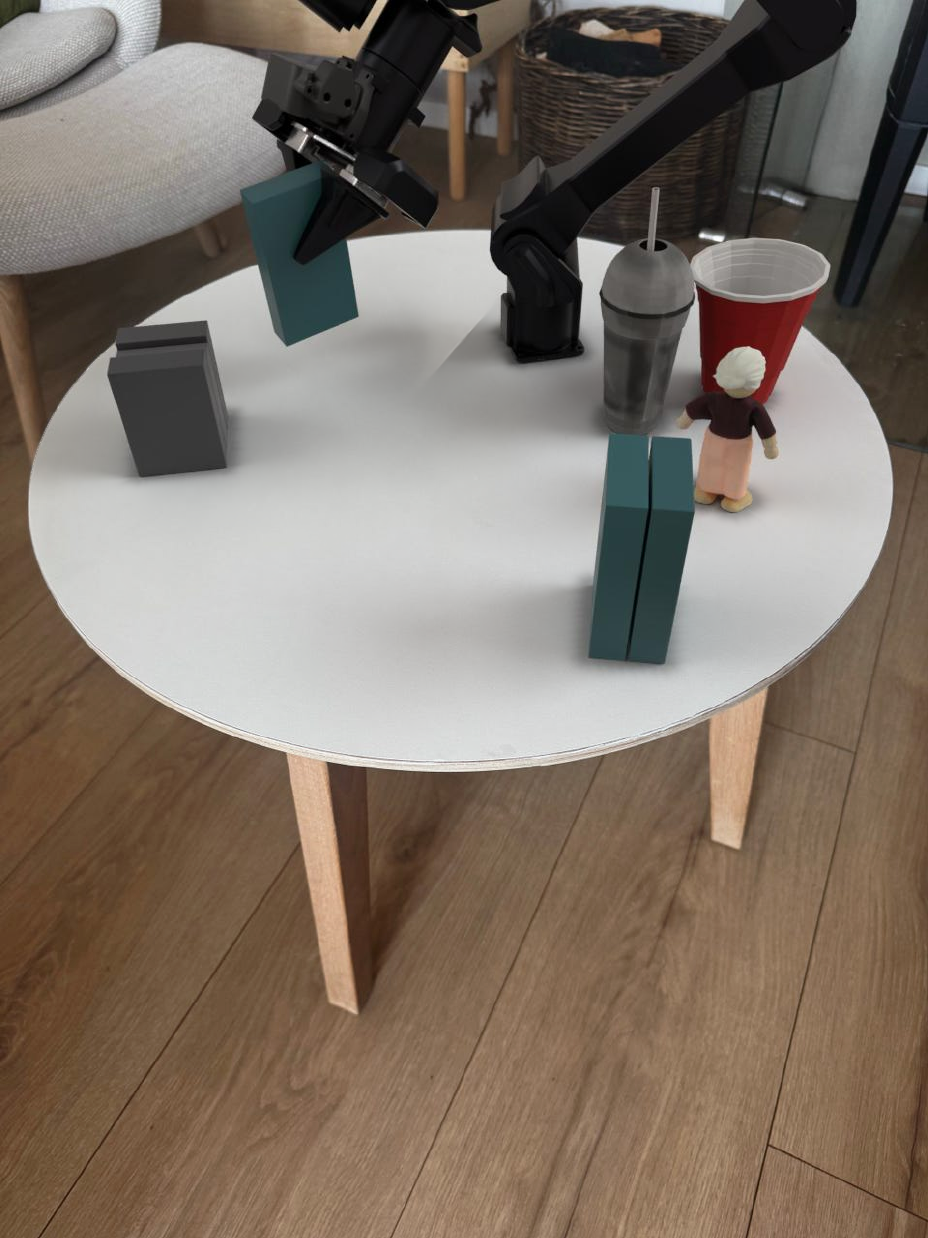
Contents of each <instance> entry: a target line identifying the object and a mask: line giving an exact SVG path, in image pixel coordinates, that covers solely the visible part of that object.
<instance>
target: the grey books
mask: <svg viewBox="0 0 928 1238" xmlns="http://www.w3.org/2000/svg"><path fill="white" fill-rule="evenodd" d="M114 342H115V343H114V345H115V348H116V353H115V356H111V357H110V358H109V362H108V367H107V373H106V376H107V379H108V382H109V385H110V390H111V391H112V395H113V398H114V401H115V405H116V407H117V411H118V414H119V417H120V420H121V423H122V427H123V429H124V433H125V437H126V439H127V442H128V445H129V449H130V451H131V455H132V458H133V461H134V464H135V467H136V471H137V474H138V476H139V477H140V478H141V477H150V476H159V475H170V474H180V473H188V472H196V471H197V472H198V471H207V470H217V469H226V468H227V467H228V440H229V439H228V436H229V435H228V434H229V431H228V429H229V428H228V427H229V413H228V409H227V403H226V400H225V394H224V391H223V386H222V382H221V377H220V373H219V367H218V363H217V359H216V355H215V350H214V346H213V341H212V337H211V332H210V327H209V323H208V320H207V319H204V320H194V321H193V320H192V321H185V322H172V323H161V324H151V325H140V326H139V325H138V326H129V327H128V326H127V327H118V328H117V330H116V336H115V341H114Z"/></svg>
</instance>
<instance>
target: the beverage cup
mask: <svg viewBox="0 0 928 1238" xmlns="http://www.w3.org/2000/svg"><path fill="white" fill-rule="evenodd" d="M659 199H660V187H653V188H652V189H651V200H650V212H649V213H650V214H649V221H648V232H647V233H648V235H647V237H646V238H640V239H638V240H635V241H632V242H631V243H628V244H627V245H625V246H624V247H623V248H622V249H620V250H619V251H618V253H616V254H615V255H614V257H612V259H611V260H610V262H609V264H608V266H607V268H606V271H605V274H604V277H603V279H602V285H601V286H600V290H599V292H598V293H599V298H600V308H601V317H602V321H603V407H604V408H603V409H604V424H605V425H606V427H607V428H608V430H611V431H612V432H614V433H615V434H630V435H646V436H647V435H649V434H650V433H652V432H654V431H655V430H656V429H657V428H658V424H659V420H660V416H661V413H662V411H663V407H664V404H665V399H666V396H667V393H668V392H667V391H668V387H669V383H670V380H671V375H672V372H673V368H674V364H675V361H676V360H675V359H676V356H677V351H678V349H679V343H680V340H681V336H682V332H683V329H684V328H685V326H686V323H687V321H688V319H689V316H690V312H691V309H692V307H693V306H694V304H695V300H696V293H695V282H694V276H693V272H692V269H691V267H690V264H691V263H690V262H689V260H688V258H687V256H686V255H685V253H684V252H682V250H681V249H680V248H678V246H676V245H675V244H673V243H671V242H670V241H668V240H665V239H662V238H656V231H657V221H658V211H659V210H658V209H659Z"/></svg>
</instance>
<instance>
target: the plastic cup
mask: <svg viewBox="0 0 928 1238" xmlns="http://www.w3.org/2000/svg"><path fill="white" fill-rule="evenodd" d="M689 264H690V267H691V269H692V272H693V276H694V286H695V290H696V297H697V303H698V322H699V324H698V325H699V329H698V330H699V356H700V363H701V364H700V367H701V368H700V371H701V372H700V384H701V387H702V394H705V393H708V392H713V391H721V392H725V390H724V388H723V387H721V386H719V385H718V383H717V380H716V378H714V377H713V375H716V373H717V367H718V365H719V363H720V361H721V360H722V359H723V358H725V356H726V355H727V354H728V353H729V352H731V351H732V350H734V349H735V348H740V347H748V346H749V347H751V348H753V349H756V350H759V351H760V352H761V354H762V356H763V357H765V361H766V363H765V369H766V370H765V372H764V375H763V376H764V378H763V379H762V380H761V382H760V386H759V388H757V389H756V390H755V392H754V393H753V394H751V395H750V397H752V398H753V399H755V400H757V401H758V402H760V403H761V404H762V405H763V406H764V404H766V403H767V402H768V400H769V398H770V397H771V396H772V393H773V391H774V389H775V387H776V384H777V382H778V380H779V377H780V375H781V372H783V370H784V369H785V367H786V364H787V362H788V360H789V357H790V355H791V353H792V351H793V348H794V345H795V342H797V341H796V340H797V339H798V336H799V333H800V331H801V329H802V326H803V324H804V322H805V320H806V317H807V315H808V314H809V313H810V310H811V307H812V305H813V302H815V300H816V297H817V294H818V292H820V289H821V288H822V286H823V285H825V284H826V283H827V281H828V279H829V275H830V270H831V263H830V262H829V261H828V260H827V259H826V257H825V256H824V254H823V253H822V252H819V251H817V250H815V249H813V248H811V247H809V246H807V245H805V244H802V243H797V242H793V241H790V240H785V239H781V238H764V237H749V238H740V239H729V240H726V241H721V242H720V243H717V244H716V243H715V244H713V245H710V246H707V247H705V248H704V249H702V250H700V252H698V253H697V254H695V255H694V256H693V257H692V259H691V262H690V263H689Z"/></svg>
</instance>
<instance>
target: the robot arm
mask: <svg viewBox="0 0 928 1238" xmlns="http://www.w3.org/2000/svg"><path fill="white" fill-rule="evenodd" d="M297 1H298V2H299V3H300V4H301V5H303V6H304V7H306V8H307V9H308V10H310V11H311V13H313V14H315V15H316V17H319V19H321V20H322V21H323V22H325V24H327V25H329V26H330V27H331V28H332V29H334V30H335V31H336V32H338V33H339V34H340V33H341V32H342V30H343V29H345V30H346V31H347V32H351V30H352V28H353V27H355V28H356V29H357V30H359V31H360V30H361V29H362V27H363V26H364V24H365V23H366V20H367V19H368V17H369V15H370V14H371V13H372V11H373V9H374V7H375V5H376V3H377V2H378V0H297ZM500 1H501V0H386V2H385V3H384V6H383V7H382V9H381V11H380V12H379V15H378V16H377V18H376V20H375V21H374V23H373V25H372V27H371V29H370V31H368V34H367V36H366V38H365V39H364V41H363V43H362V45H361V46H360V49H359V50H358V52H357V53H356V55H355V57H354V59H353V58H350V57H348V56H346V55H342V56H341V57H338V58H337V59H336V60H335V62H332V61H330V60H328V59H322V60H321V62H320V63H319V64H318V66H316V65H313V64H310V63H307V62H304V61H301V60H298V59H294V58H292V57H289V56H285V55H283V54H278V53H276V52H269V54H268V55H269V56H268V59H267V66H266V71H265V76H264V80H263V85H262V90H261V95H260V102H259V104H258V105H257V107H256V109H255V111H254V113H253V114H252V117H251V119H252V121H254V122H255V123H257V124H258V125H259V126H260V127H262V128H263V129H265V131H267V132H268V133H270V134H271V135H272V136H274V137H275V138H276V143H275V144H276V148H277V149H279V150H280V152H281V155H282V160H283V163H284V167H285V171H286V173H288V172H290V171H293V170H296V169H299V168H301V167H304V166H307V165H310V164H312V163H315V162H318V161H321V160H322V161H323V162H324V163H325V164H326V165H328V166H329V167H330V168H331V169H332V170H333V171H332V170H330V169H328V168H327V167H325V166H323V165H322V164H321V165H320V173H321V186H322V193H321V196H320V198H319V200H318V202H317V205H316V207H315V209H314V211H313V213H312V215H311V217H310V219H309V221H308V223H307V225H306V228H305V230H304V232H303V234H302V236H301V238H300V240H299V243H298V245H297V248H296V250H295V253H294V256H293V258H294V260H295V261H297V262H298V263H300V264H301V265H306V264H307V263H309V262H310V261H312V260H313V259H315V258H316V257H318V256H319V255H321V254H322V253H324V252H325V251H327V250H328V249H330V248H331V247H333V246H334V245H336V244H337V243H339V242H340V241H341V240H343V239H345V238H346V239H347V238H348V237H349V236H352V235H353V234H355V233H357V232H358V231H360V230H362V229H363V228H365V227H367V226H369V225H371V224H373V223H374V222H376V221H378V220H380V219H384V220H388V219H389V217H390V216H391V214H390V212H388V211H387V210H386V207H387V205H388V204H389V202H390V203H392V205H394V206H395V207H396V208H398V209H399V211H401V215H402V216H403V217H404V218H405V219H407V220H409V221H411V222H412V223H414V224H416V225H417V226H419V227H420V228H422V229H424V230H427V229H428V226H429V225H430V224H431V222H432V220H433V218H434V217H435V216H436V214H437V212H438V210H439V209H440V204H439V190H438V189H437V188H436V187H435V186H434V185H433V184H431V183H430V182H429V181H428V180H426V179H425V178H424V177H423V176H422V175H420V173H418V172H417V171H416V170H415V169H413V168H412V166H410V165H409V164H408V163H407V162H406V161H404V160H403V159H402V158H400V157H399V156H397V155H395V154H394V153H392V152H393V150H394V149H395V147H396V145H397V143H398V141H400V138H401V136H402V134H403V133H404V131H405V130H406V128H407V126H408V124H410V125H412V126H414V127H416V128H418V129H420V127H421V126H422V124H423V122H424V120H425V119H426V115H425V114H424V112H422V111H421V110H420V108H418V107H419V106H420V104H421V102H422V100H423V98H424V97H425V95H426V93H427V91H428V90H429V88H430V87H431V84H432V83H433V81H434V80H435V78H436V76H437V75H438V73H439V71H440V69H441V67H442V65H443V64H444V62H445V60H446V59H447V57H448V55H449V53H450V51H451V50H452V48H453V49H455V50H456V51H457V52H458V53H460V54H461V55H462V56H463V57H464V58H466V59H469V58H472V57H474V56H476V55H478V54H480V53H481V52H482V51H483V43H482V41H481V36H480V33H479V28H478V21H479V15H478V14H477V13H476V12H473V13H470V14H466V15H460V14H459V13H457V12H456V11H472V10H475V9H479V8H481V7H485V6H487V5H490V4H494V3H497V2H500ZM857 7H858V2H857V0H743V1H742V2H741V4H740V5H739V7H738V8H737V10H736V11H735V13H734V15H733V16H732V17H731V19H730V21H729V22H728V23H727V25H726V26H725V28H724V29H723V31H722V32H721V33H720V35H719V36H718V37H717V38H716V40H715V41H713V43H712V44H710V45H709V46H708V47H707V48H706V49H705V50H703V51H702V52H701V53H700V54H698V55H697V56H696V57H694V58H693V59H692V60H691V61H689V62H688V63H687V64H686V65H685V66H684V67H682V68H681V69H680V70H679V71H678V72H676V73H675V74H674V75H672V76H671V77H670V78H669V79H668V80H666V81H665V82H664V83H663V84H662V85H661V86H659V87H658V88H657V89H655V90H654V91H653V92H652V93H650V94H649V95H648V96H647V97H646V98H644V99H643V100H642V101H641V102H640V103H638V104H637V105H636V106H635V107H633V108H632V109H631V110H629V112H627V113H626V114H625V115H624V116H622V117H621V118H620V119H619V120H618V121H617V122H615V123H613V124H612V126H610V127H609V128H608V129H607V130H605V131H603V133H602V134H600V135H599V136H598V137H597V138H595V139H594V140H593V141H592V142H591V143H589V144H588V145H587V146H585V147H584V148H583V149H582V150H581V151H579V152H578V153H577V154H576V155H575V156H573V157H572V158H571V159H569V160H567V161H565V162H563V163H560V164H557V165H554V166H550V167H547V168H546V166H545V164H544V161H543V160H542V158H541V157H540V155H535V157H533V158H532V159H531V160H530V161H529V162H528V163H527V165H526V166H525V167H524V168H523V169H522V170H521V171H520V172H519V173H518V174H517V175H516V176H514V177H512V178H510V179H507V180H504V181H502V182H501V185H500V186H501V187H500V194H499V196H498V197H497V198H495V201H494V203H493V205H492V206H493V208H492V212H491V222H490V223H491V224H490V238H489V239H490V240H489V254H490V258H491V261H492V263H493V265H494V267H496V269H497V270H498V271H499V272H501V273H502V274H503V275H504V276H506V292H503V293H502V294H501V295H500V320H499V321H500V325H499V328H500V329H499V333H500V336H501V337H502V340H503V342H504V344H505V346H506V347H507V348H508V349H509V350H510V352H511V353H512V355H513V358H514V360H515V361H516V362H517V363H528V362H529V363H530V362H535V361H542V360H543V361H544V360H550V359H558V358H566V357H573V356H581V355H583V354H584V353H585V347H584V345H583V342H582V341H581V339H580V328H581V317H582V315H581V314H582V300H583V289H584V282H583V281H582V279H581V275H580V262H579V261H580V260H579V245H578V237H579V236H580V235H581V233H582V231H583V230H584V228H585V227H586V225H587V224H588V223H589V221H590V220H591V219H592V217H593V216H594V215H595V213H596V212H597V211H598V210H599V209H600V208H602V207H603V206H604V205H605V204H607V203H608V202H610V201H611V200H612V199H613V198H614V197H616V196H617V195H618V194H620V193H621V192H623V190H625V189H626V188H628V187H629V186H630V185H632V183H634V182H635V181H636V180H638V179H640V177H641V176H643V175H645V174H646V173H647V172H648V171H650V170H651V169H652V168H653V167H655V165H657V164H659V163H660V162H661V161H662V160H663V159H665V158H666V157H667V156H669V155H671V153H673V152H674V151H675V150H677V149H678V148H679V147H681V146H682V145H683V144H685V143H686V142H687V141H688V140H689V139H691V138H692V137H694V136H695V135H697V134H698V133H699V132H700V131H701V130H702V129H704V128H705V127H706V126H708V125H709V124H710V123H712V122H713V121H714V120H715V119H716V118H718V117H720V115H722V114H723V113H724V112H727V110H728V109H730V108H731V107H733V106H734V105H735V104H736V103H738V102H739V101H740V100H741V99H743V98H744V97H746V96H748V95H750V94H752V93H754V92H755V93H756V92H757V91H761V90H764V89H767V88H771V87H774V86H776V85H780V84H782V83H786V82H789V81H791V80H792V79H795V78H797V77H798V76H800V75H801V74H803V73H805V72H807V71H809V70H811V69H812V68H814V67H816V66H818V65H820V64H822V63H824V62H825V61H827V60H829V59H830V58H832V57H833V56H835V55H836V54H837V53H838V52H839V51H840V50H841V49H842V48H843V47H844V46H845V45H846V43H847V42H849V40H850V38H851V36H852V31H853V28H854V25H855V21H856V19H857V9H858V8H857ZM333 165H334V166H335V167H337V168H339V169H341V170H340V172H339V173H337V172H336V171H334V169H335V168H334V167H333Z"/></svg>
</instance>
